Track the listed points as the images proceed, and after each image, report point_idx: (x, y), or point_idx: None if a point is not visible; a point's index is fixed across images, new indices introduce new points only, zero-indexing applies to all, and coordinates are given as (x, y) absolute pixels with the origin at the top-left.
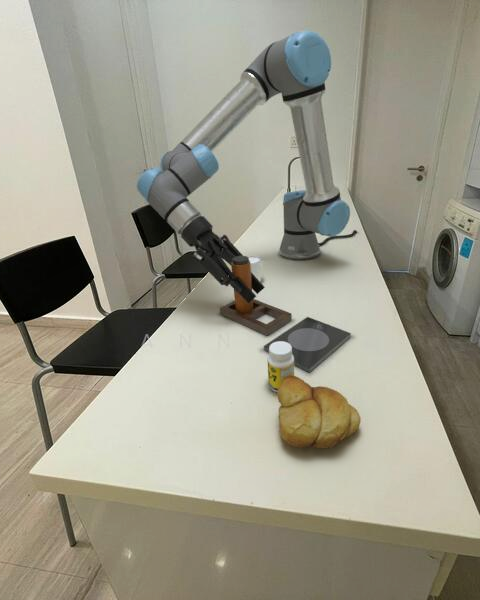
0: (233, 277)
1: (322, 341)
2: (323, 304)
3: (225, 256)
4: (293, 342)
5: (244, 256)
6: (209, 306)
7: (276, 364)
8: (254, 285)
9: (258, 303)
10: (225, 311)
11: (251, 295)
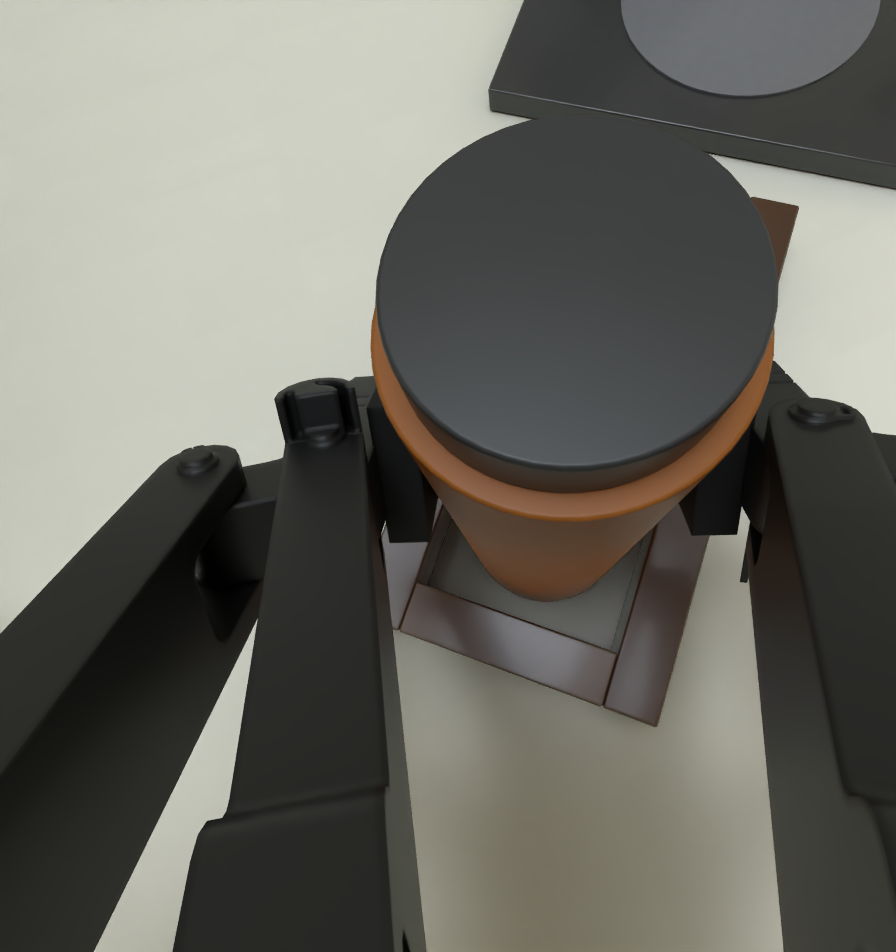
0: (824, 403)
1: None
2: (261, 100)
3: (402, 813)
4: (824, 44)
5: (418, 257)
6: (549, 909)
7: None
8: None
9: None
10: (677, 645)
11: None
